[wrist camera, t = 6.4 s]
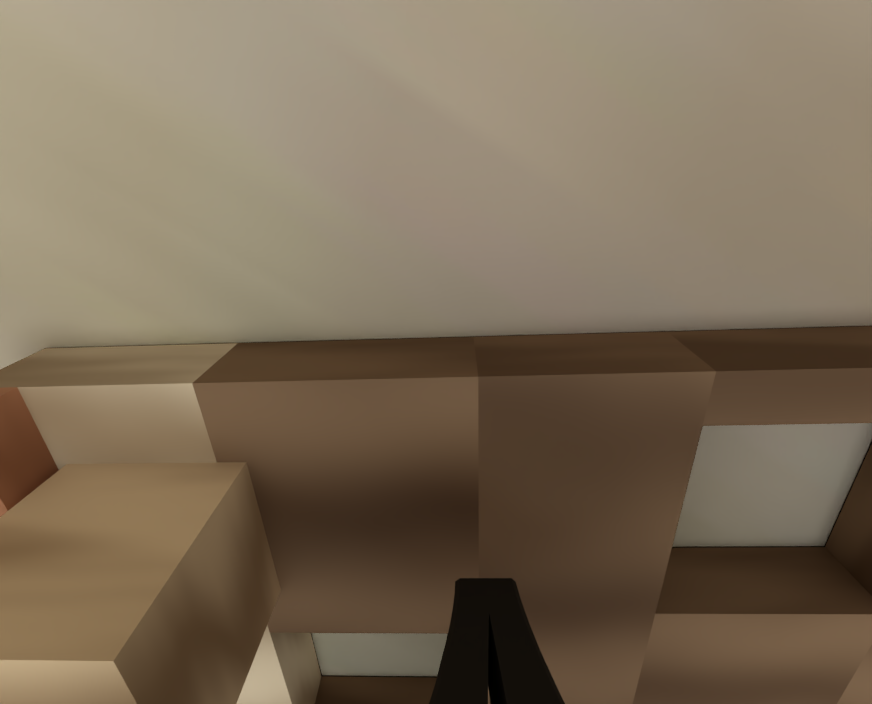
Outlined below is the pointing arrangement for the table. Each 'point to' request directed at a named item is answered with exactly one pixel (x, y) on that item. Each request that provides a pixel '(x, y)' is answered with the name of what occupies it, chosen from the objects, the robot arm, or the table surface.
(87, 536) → the beech block
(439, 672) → the robot arm
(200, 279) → the table surface
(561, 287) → the table surface
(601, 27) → the table surface
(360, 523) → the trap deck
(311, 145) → the table surface
